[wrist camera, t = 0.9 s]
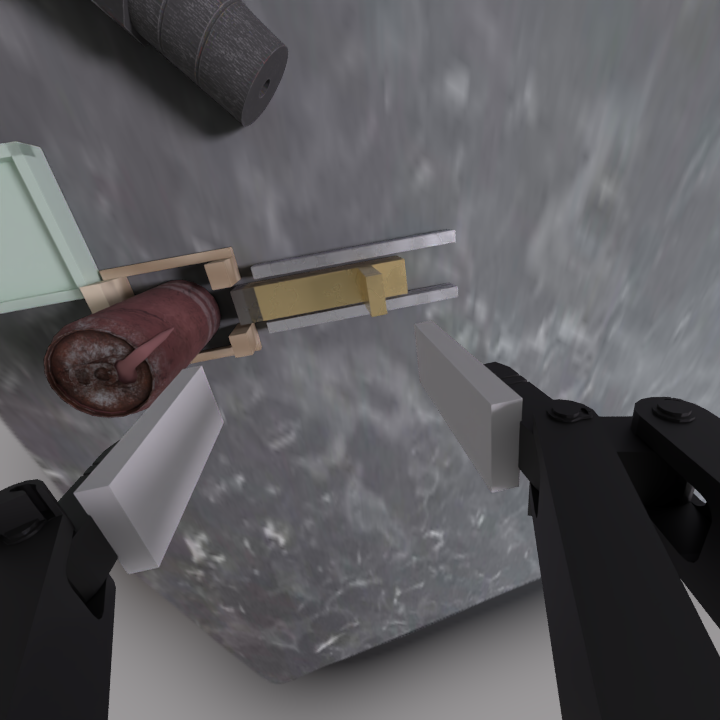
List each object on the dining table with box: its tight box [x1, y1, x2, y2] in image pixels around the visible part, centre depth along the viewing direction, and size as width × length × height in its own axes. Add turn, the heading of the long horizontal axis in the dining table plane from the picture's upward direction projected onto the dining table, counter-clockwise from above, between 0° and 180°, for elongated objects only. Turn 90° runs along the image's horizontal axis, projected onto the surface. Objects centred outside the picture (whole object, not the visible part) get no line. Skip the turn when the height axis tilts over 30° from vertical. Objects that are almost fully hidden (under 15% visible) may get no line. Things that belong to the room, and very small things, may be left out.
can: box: [44, 280, 221, 418], centre depth 25 cm, size 6×6×14 cm
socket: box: [80, 247, 262, 364], centre depth 29 cm, size 10×11×4 cm
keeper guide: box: [251, 229, 458, 333], centre depth 31 cm, size 6×18×2 cm, turn 99°
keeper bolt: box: [230, 256, 408, 325], centre depth 28 cm, size 3×15×8 cm, turn 99°
